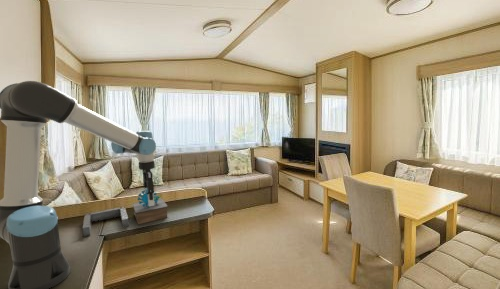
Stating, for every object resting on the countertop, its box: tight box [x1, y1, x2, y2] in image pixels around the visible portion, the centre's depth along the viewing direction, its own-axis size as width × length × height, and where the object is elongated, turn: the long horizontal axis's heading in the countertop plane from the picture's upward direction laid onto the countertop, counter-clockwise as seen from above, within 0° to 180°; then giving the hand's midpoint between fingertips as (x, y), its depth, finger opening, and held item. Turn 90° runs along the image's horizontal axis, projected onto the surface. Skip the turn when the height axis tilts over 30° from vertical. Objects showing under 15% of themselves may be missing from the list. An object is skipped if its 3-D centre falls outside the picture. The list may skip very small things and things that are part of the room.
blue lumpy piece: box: [137, 189, 161, 207], centre depth 128 cm, size 11×6×10 cm
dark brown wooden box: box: [132, 197, 169, 225], centre depth 127 cm, size 15×15×6 cm
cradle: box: [82, 206, 130, 238], centre depth 119 cm, size 18×18×4 cm
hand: (149, 202), depth 127 cm, fingers open, 10 cm apart
